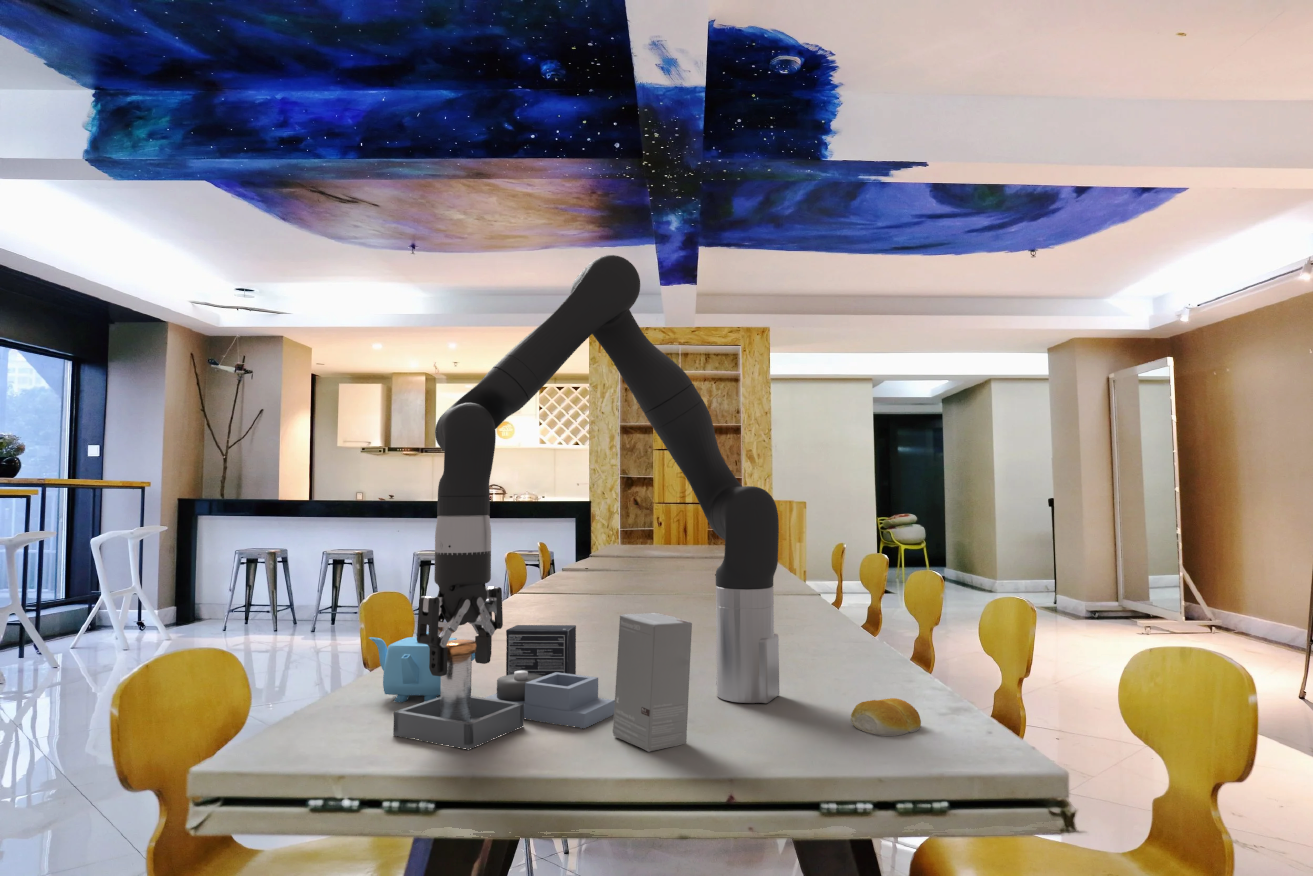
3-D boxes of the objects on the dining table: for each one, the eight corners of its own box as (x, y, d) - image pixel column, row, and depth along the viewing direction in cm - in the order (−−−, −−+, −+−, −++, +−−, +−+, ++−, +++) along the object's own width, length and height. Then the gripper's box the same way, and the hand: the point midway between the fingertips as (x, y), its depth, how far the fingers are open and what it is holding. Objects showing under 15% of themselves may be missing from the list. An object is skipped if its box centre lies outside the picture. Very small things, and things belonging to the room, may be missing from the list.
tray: (523, 727, 102) (523, 703, 102) (468, 750, 92) (469, 724, 93) (451, 714, 108) (452, 693, 108) (393, 735, 98) (393, 711, 99)
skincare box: (611, 737, 97) (611, 614, 99) (655, 727, 102) (655, 610, 103) (649, 754, 91) (648, 622, 92) (694, 743, 95) (693, 617, 96)
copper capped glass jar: (483, 726, 100) (484, 641, 101) (456, 736, 96) (457, 648, 97) (454, 720, 103) (455, 638, 104) (426, 731, 98) (428, 644, 99)
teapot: (488, 688, 124) (489, 626, 125) (458, 711, 110) (460, 642, 111) (384, 686, 125) (386, 625, 126) (342, 708, 112) (344, 640, 112)
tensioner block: (614, 714, 108) (614, 676, 108) (584, 729, 101) (584, 688, 101) (516, 699, 116) (516, 664, 117) (481, 712, 109) (482, 674, 110)
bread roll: (932, 730, 101) (931, 700, 101) (888, 742, 96) (887, 710, 96) (883, 715, 108) (882, 687, 108) (840, 725, 103) (839, 696, 103)
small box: (577, 687, 124) (577, 623, 125) (569, 697, 118) (569, 630, 119) (515, 686, 125) (516, 623, 126) (504, 696, 119) (505, 629, 120)
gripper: (447, 552, 94) (445, 683, 93) (517, 546, 107) (516, 661, 105) (404, 551, 98) (401, 677, 96) (477, 545, 110) (475, 656, 109)
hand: (461, 669), depth 101 cm, fingers open, 8 cm apart
